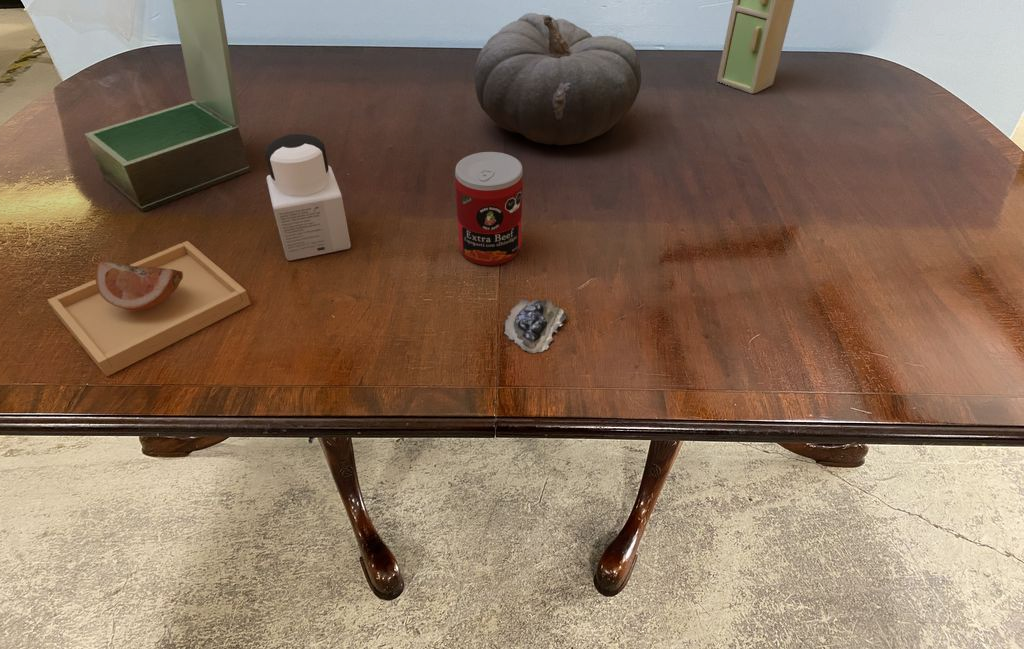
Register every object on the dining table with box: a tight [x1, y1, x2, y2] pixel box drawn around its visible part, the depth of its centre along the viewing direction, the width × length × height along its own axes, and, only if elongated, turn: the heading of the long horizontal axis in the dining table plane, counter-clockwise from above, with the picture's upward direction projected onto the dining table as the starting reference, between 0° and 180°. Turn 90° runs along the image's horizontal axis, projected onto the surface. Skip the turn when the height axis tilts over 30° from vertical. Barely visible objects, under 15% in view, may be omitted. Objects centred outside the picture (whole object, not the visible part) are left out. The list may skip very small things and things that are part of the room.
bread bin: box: [84, 99, 251, 213], centre depth 93 cm, size 16×13×7 cm
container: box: [264, 133, 352, 261], centre depth 79 cm, size 8×8×13 cm
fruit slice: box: [95, 261, 183, 310], centre depth 71 cm, size 8×7×5 cm
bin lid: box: [172, 0, 241, 125], centre depth 90 cm, size 16×13×1 cm
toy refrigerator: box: [716, 0, 796, 95], centre depth 115 cm, size 8×7×21 cm
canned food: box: [454, 151, 524, 266], centre depth 79 cm, size 8×8×11 cm
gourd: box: [474, 12, 642, 146], centre depth 103 cm, size 25×25×17 cm
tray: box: [47, 240, 251, 377], centre depth 72 cm, size 16×14×2 cm
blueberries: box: [503, 298, 568, 354], centre depth 71 cm, size 7×8×2 cm
